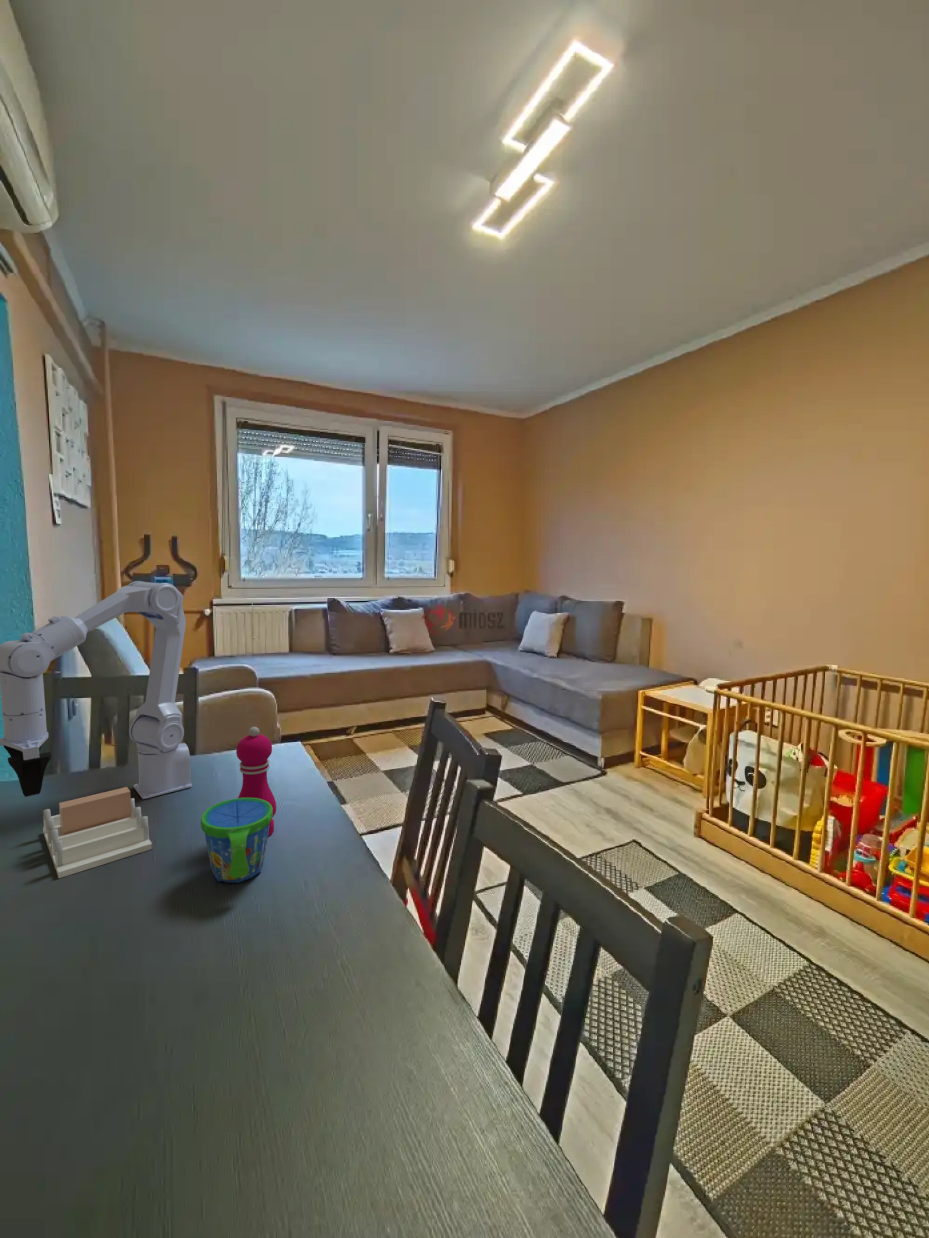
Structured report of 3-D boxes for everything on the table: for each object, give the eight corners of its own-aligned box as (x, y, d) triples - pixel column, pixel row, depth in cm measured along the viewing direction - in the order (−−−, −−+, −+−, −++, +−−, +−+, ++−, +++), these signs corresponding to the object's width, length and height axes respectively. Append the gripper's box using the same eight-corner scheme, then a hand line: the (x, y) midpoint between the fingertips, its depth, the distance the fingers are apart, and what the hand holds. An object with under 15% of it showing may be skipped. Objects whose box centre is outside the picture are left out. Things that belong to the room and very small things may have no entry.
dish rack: (126, 810, 106) (125, 786, 106) (152, 848, 94) (151, 821, 93) (43, 833, 98) (41, 806, 97) (58, 878, 85) (56, 848, 84)
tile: (128, 823, 100) (126, 786, 99) (132, 828, 98) (130, 791, 97) (61, 842, 93) (58, 803, 92) (63, 848, 91) (61, 808, 90)
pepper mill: (283, 824, 103) (282, 722, 101) (265, 844, 96) (264, 735, 93) (246, 821, 104) (244, 719, 101) (226, 841, 97) (223, 732, 94)
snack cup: (271, 895, 82) (270, 831, 81) (194, 907, 79) (192, 841, 78) (275, 842, 97) (274, 787, 96) (210, 850, 94) (208, 793, 92)
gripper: (-10, 705, 95) (-4, 779, 97) (-4, 726, 85) (2, 808, 87) (41, 698, 100) (45, 769, 102) (52, 717, 90) (57, 796, 91)
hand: (29, 787), depth 95 cm, fingers open, 7 cm apart
